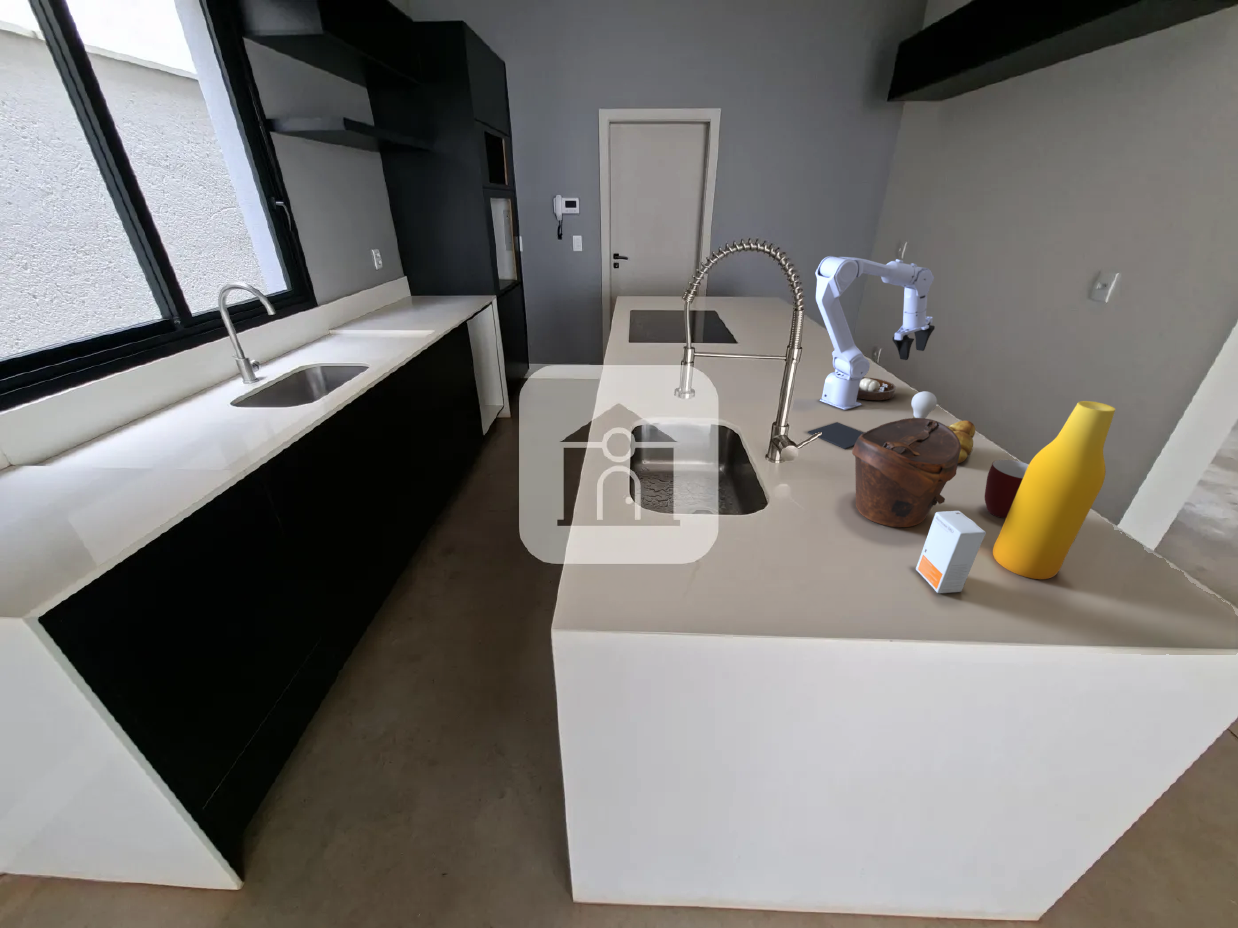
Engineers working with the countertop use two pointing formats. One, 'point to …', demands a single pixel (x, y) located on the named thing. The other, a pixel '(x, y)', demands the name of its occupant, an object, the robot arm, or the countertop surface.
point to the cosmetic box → (949, 551)
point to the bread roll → (964, 437)
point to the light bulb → (923, 404)
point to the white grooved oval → (869, 385)
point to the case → (903, 470)
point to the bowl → (883, 393)
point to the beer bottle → (1056, 495)
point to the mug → (1003, 485)
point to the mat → (838, 434)
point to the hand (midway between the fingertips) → (912, 354)
